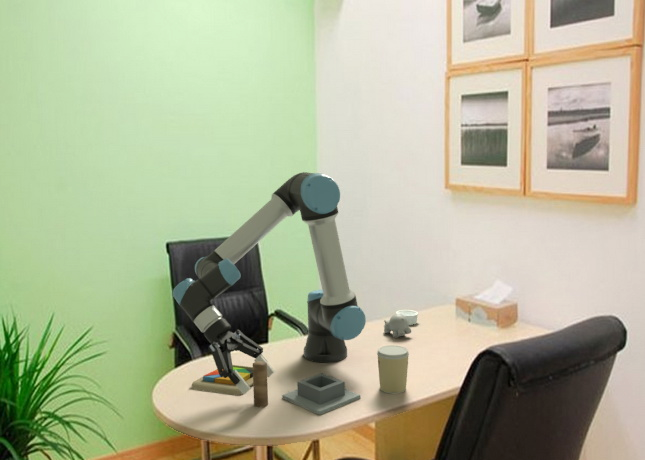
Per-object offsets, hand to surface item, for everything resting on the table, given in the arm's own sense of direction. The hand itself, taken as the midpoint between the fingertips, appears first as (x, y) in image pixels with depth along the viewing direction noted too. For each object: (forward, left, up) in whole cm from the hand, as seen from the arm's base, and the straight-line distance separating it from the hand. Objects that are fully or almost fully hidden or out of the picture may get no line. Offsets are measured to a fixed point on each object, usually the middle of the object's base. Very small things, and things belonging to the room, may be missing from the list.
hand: (259, 382), depth 178 cm
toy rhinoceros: (-15, +75, -7) cm, 77 cm away
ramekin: (-22, +91, -7) cm, 94 cm away
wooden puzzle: (-21, +4, -7) cm, 23 cm away
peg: (0, 0, -7) cm, 7 cm away
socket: (+9, +15, -7) cm, 19 cm away
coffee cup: (+19, +35, -7) cm, 41 cm away
